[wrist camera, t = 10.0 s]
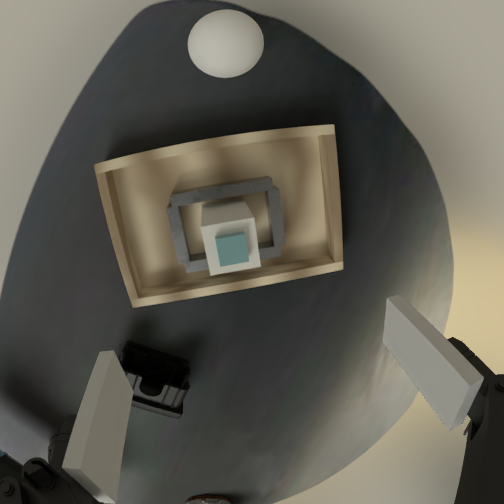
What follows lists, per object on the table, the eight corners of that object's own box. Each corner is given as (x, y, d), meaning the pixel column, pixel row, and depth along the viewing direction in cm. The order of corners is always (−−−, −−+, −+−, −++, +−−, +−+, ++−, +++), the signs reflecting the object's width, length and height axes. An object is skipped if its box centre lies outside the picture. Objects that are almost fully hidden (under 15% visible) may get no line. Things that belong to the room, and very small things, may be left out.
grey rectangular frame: (182, 266, 35) (181, 274, 33) (166, 193, 32) (163, 197, 30) (282, 248, 36) (286, 255, 34) (273, 174, 33) (278, 177, 31)
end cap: (113, 372, 41) (104, 405, 34) (123, 338, 39) (112, 371, 32) (177, 393, 43) (176, 427, 37) (192, 361, 41) (192, 396, 35)
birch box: (138, 293, 37) (132, 307, 33) (104, 161, 31) (93, 164, 27) (332, 257, 38) (343, 269, 35) (321, 124, 32) (334, 124, 29)
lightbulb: (255, 85, 30) (277, 63, 20) (197, 95, 30) (193, 77, 19) (244, 34, 28) (261, -6, 18) (187, 44, 27) (179, 6, 17)
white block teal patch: (209, 244, 35) (210, 279, 26) (201, 205, 33) (200, 229, 25) (248, 237, 35) (262, 270, 27) (243, 198, 33) (255, 220, 25)
